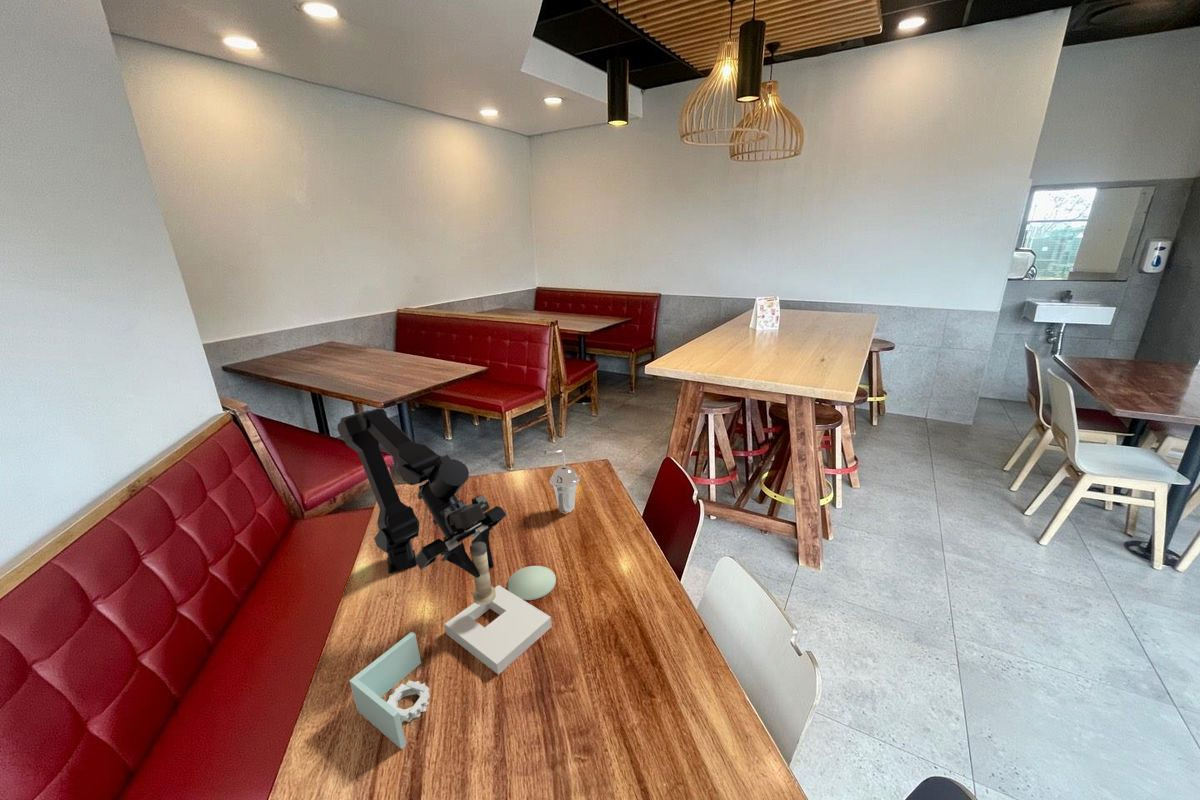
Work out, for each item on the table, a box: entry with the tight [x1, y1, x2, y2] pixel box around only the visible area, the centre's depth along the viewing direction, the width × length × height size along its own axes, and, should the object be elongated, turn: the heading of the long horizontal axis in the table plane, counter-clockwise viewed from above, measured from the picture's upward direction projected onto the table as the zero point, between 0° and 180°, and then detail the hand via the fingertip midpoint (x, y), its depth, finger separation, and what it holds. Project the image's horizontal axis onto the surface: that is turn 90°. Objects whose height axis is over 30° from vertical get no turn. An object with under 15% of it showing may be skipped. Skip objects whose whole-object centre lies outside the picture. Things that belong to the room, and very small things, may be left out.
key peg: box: [469, 542, 496, 605], centre depth 94 cm, size 4×4×12 cm
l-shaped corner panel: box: [349, 631, 431, 750], centre depth 81 cm, size 12×12×8 cm
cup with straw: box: [544, 449, 580, 513], centre depth 135 cm, size 8×9×20 cm
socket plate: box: [444, 584, 553, 676], centre depth 95 cm, size 16×14×2 cm
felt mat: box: [507, 565, 557, 601], centre depth 109 cm, size 11×11×1 cm
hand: (485, 572), depth 93 cm, fingers closed on key peg, 3 cm apart
